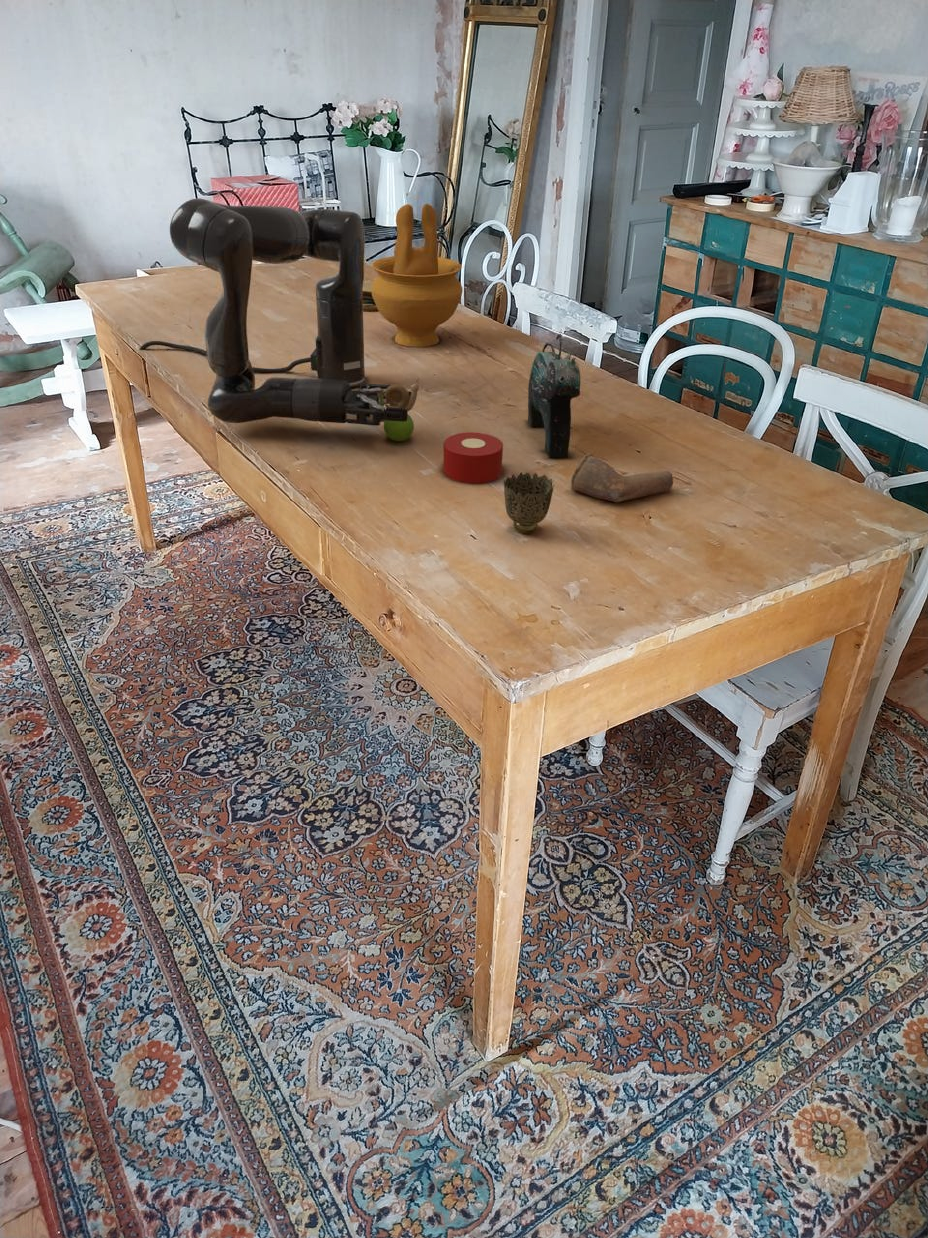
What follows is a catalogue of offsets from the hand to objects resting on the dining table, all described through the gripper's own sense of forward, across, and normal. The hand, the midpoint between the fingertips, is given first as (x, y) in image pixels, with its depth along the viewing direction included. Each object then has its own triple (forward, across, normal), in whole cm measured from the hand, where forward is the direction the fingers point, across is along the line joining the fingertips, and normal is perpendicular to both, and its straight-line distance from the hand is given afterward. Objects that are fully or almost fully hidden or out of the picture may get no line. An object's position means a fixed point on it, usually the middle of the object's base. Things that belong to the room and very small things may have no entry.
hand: (411, 406), depth 166 cm
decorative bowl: (-8, +61, +7) cm, 62 cm away
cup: (+22, -31, +7) cm, 39 cm away
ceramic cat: (+24, +5, +7) cm, 26 cm away
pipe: (+37, -15, +7) cm, 41 cm away
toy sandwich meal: (-25, +89, +7) cm, 93 cm away
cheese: (+12, -11, +7) cm, 18 cm away
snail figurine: (-2, 0, +7) cm, 7 cm away
